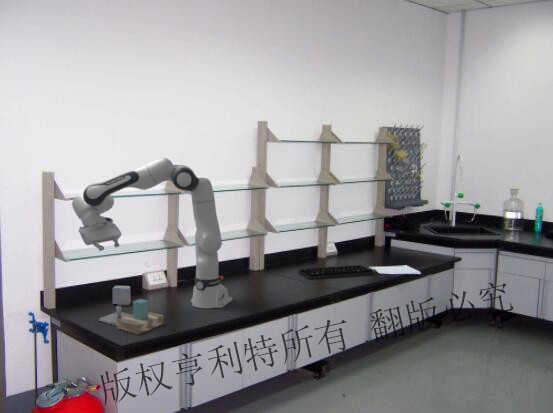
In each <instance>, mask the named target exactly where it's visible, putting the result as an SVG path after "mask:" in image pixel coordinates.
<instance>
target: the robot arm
mask: <svg viewBox="0 0 553 413" xmlns="http://www.w3.org/2000/svg"><path fill="white" fill-rule="evenodd" d="M166 181H171V182H172V184H173V186H175V188H177V189H178V190H182V191H186V192H190V196H191V203H192V213H193V218H194V223H195V228H196V231H195V233H194V246H195V247H194V248H195V249H194V250H195V259H196V261H195V263H196V264H195V266H196V267H195V268H196V269H195V277H194V284H195V285H194V286H193V291H192V298H191V299H190V302H191V304H192V306H193V307H195V308H199V309H222V308H224V307H225V306H226V305H227V304H230V303H231V302H232V301H233V297H231V296H229V291H228V288H227V287H226V286H224V285H223V284H222V283H221V281H223V280H224V276H223V275H219V263H220V262H219V256H218V252H219V250H220V249H221V247H222V245H223V244H222V243H223V241H222V234H221V230H220V229H221V228H220V225H219V224H220V223H219V220H218V215H217V207H216V199H215V193H214V188H213V186H212V183H211V181H210V179H209V178H206V177H198V176H197V175H196V174H195V172H194V170H193V169H192V168H190V167H189V166H187V165H181V164H174V163H173V162H172V161H171V160H170V159H168V158H167V157H160V158H158V159H155V160H152V161H149V162H147V163H146V164H144V165H142V166H140V167H138V168H136V169H132V170H129V171H128V172H124V173H122V174H119V175H117V176H115V177H112V178H110V179H108V180H105V181H103V182H95V183H91V184H89V185H87V186H86V187H85V188H84V191H83V193H79V194H78V195H76V196H75V197H74V198H75V199H74V198H73V200H72V201H71V206H72V209H73V211H74V213H75V215H76V216H77V218H78V219H79V220H80V221H81V223H82V225H83V226H80V227H79V228H78V232H79V234H80V237H81V239H82V242H83V243H84V245H86V246H92V245H93V247H95V248H96V249H98V250H99V252H102V251H104V250H105V247H104V246H103V245H101V244H100V243H106V242H110V241H112V242H114V244H113V246H114V248H118V247H120V243H119V239H120V238H121V236H122V231H121V230H120V228H119V227H118V226H117V224H116V223H114V219H113V218H111V217H106V216H101V215H102V214H103V213H106V212H108V211H110V210H111V209H112V208H113V207H114V204H115V200H114V196H113V195H112V194H115V193H117V192H119V191H121V190H123V189H126V188H127V189H128V188H135V189H138V190H143V191H145V190H149V189H151V188H154V187H156V186H158V185H159V184H160V185H161V183H164V182H166Z"/></svg>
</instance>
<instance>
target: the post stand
mask: <svg viewBox="0 0 553 413" xmlns="http://www.w3.org/2000/svg"><path fill="white" fill-rule="evenodd" d="M115 308H116V312H112V313H111V314H108V315H105V316H101V317H99V318H98V322H99V321H102V322H106V323H109V324H108V325H110V324H112V325H111V326H113V325H116V326H115V327H117V320H119V319H121V318H124V317H127V316H129V315H132V314H131V313H128V312H127V313H126V312H123V311H122V305H115ZM102 322H101V323H102ZM106 323H105V324H106Z"/></svg>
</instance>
